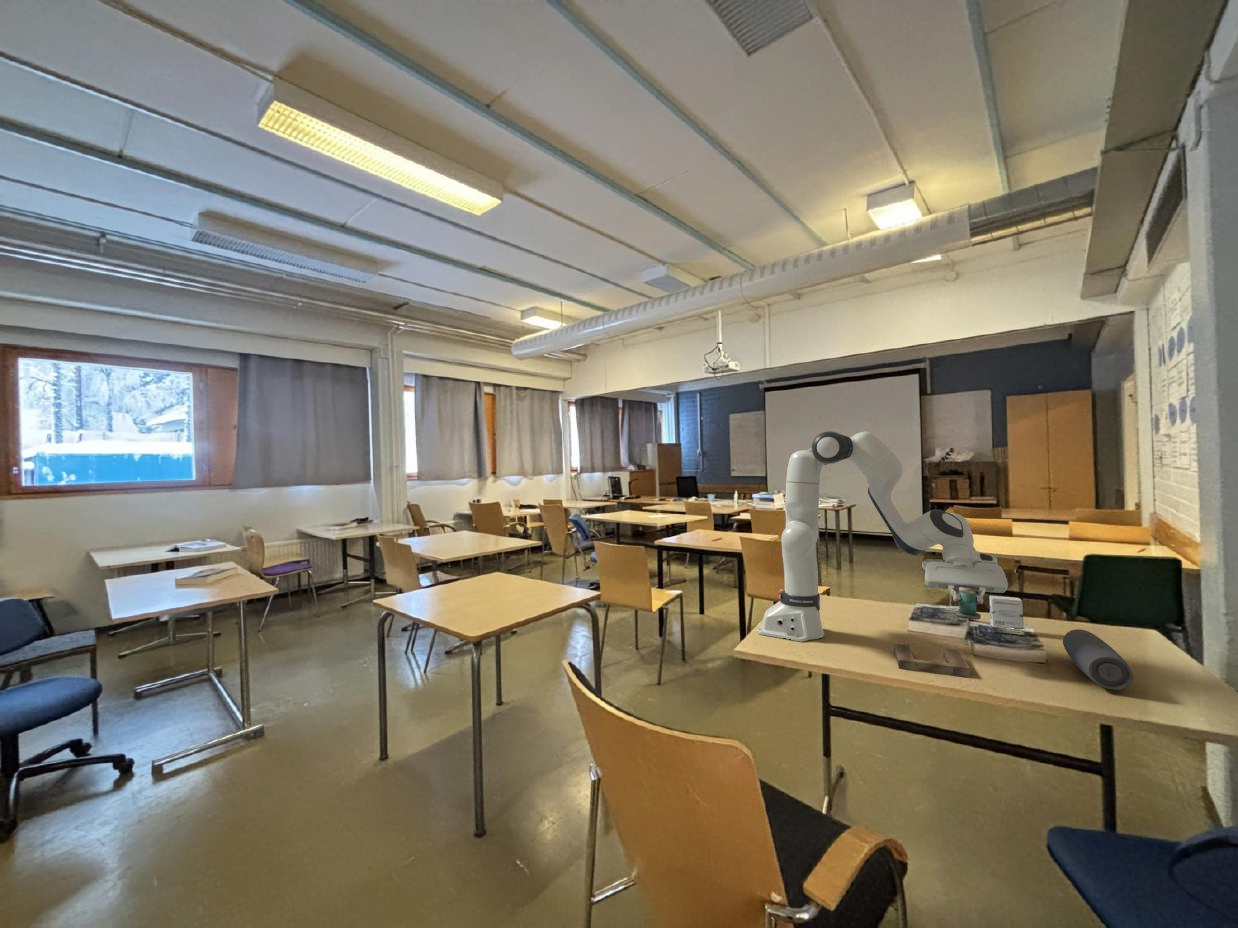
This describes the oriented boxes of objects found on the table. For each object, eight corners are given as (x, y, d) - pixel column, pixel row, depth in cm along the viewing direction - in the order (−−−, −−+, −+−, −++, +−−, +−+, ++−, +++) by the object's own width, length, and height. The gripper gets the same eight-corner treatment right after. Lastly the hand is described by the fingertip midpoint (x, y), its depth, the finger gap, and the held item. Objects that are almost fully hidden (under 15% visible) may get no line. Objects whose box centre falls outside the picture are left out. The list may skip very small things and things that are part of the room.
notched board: (899, 668, 142) (898, 659, 142) (894, 651, 155) (894, 643, 155) (970, 677, 135) (970, 668, 135) (959, 658, 148) (958, 650, 148)
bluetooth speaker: (1137, 698, 121) (1136, 657, 121) (1086, 690, 126) (1085, 651, 126) (1103, 664, 141) (1102, 629, 141) (1060, 659, 146) (1059, 625, 146)
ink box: (1021, 631, 169) (1020, 597, 169) (1024, 636, 165) (1023, 600, 165) (989, 628, 173) (988, 594, 173) (992, 632, 169) (991, 598, 169)
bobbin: (957, 617, 142) (956, 589, 142) (953, 612, 147) (953, 585, 147) (982, 620, 139) (982, 592, 139) (978, 614, 144) (978, 587, 144)
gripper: (922, 552, 153) (927, 592, 144) (1003, 557, 145) (1014, 599, 136) (920, 564, 157) (925, 603, 148) (998, 569, 149) (1009, 610, 140)
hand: (968, 601), depth 142 cm, fingers closed on bobbin, 4 cm apart
